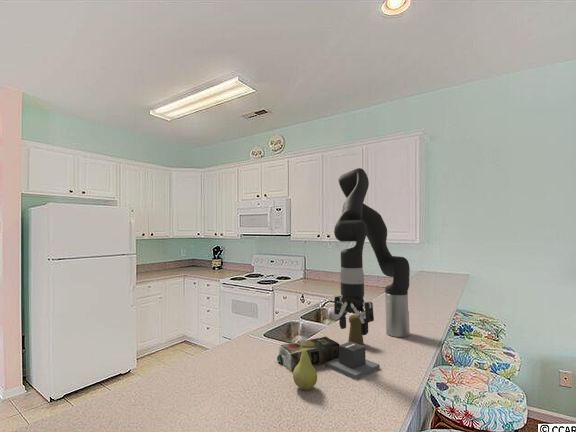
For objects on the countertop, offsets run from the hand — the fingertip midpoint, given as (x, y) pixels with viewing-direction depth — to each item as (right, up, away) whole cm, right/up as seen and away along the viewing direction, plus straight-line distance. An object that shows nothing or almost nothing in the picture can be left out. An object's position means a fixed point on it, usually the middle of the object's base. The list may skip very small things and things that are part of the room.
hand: (353, 331), depth 99 cm
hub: (0, -11, 0) cm, 11 cm away
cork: (+5, -13, +21) cm, 25 cm away
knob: (-1, -10, 0) cm, 10 cm away
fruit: (-17, -11, -14) cm, 24 cm away
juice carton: (-14, -12, +5) cm, 20 cm away
